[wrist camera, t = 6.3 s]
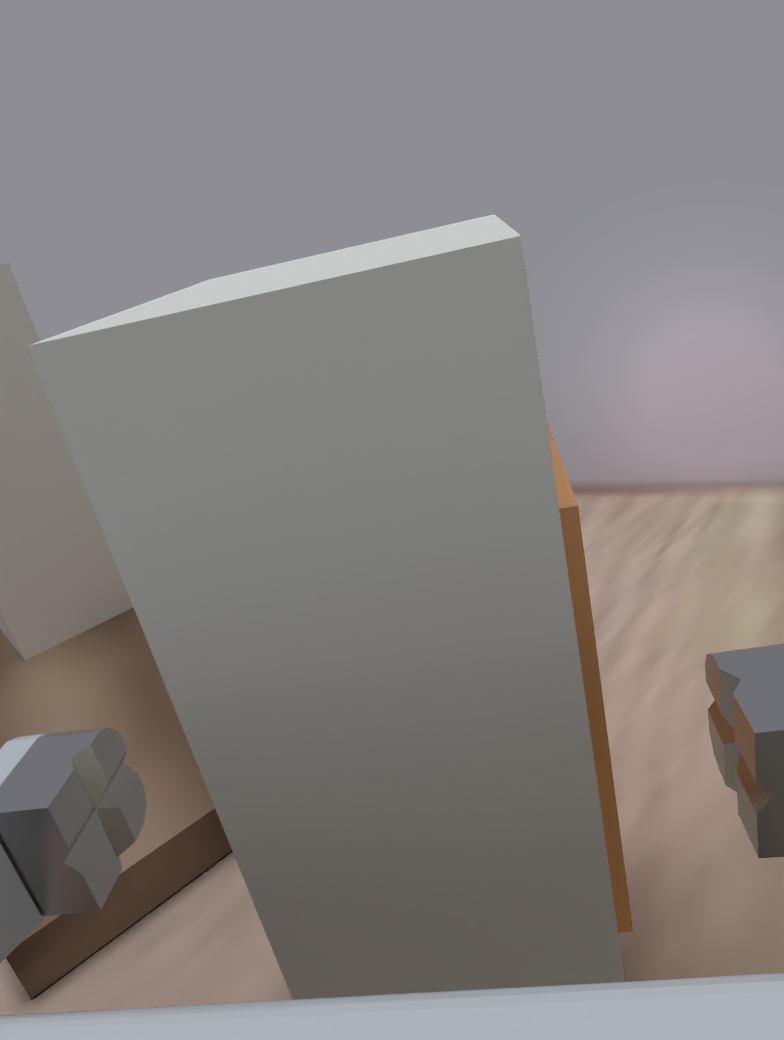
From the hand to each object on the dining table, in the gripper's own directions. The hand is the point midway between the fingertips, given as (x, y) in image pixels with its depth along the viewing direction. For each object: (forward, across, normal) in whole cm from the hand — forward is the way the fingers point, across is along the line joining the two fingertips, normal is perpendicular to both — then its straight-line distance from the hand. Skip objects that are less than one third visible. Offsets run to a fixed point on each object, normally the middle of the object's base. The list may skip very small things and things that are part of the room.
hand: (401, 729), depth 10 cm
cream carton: (+2, 0, +8) cm, 8 cm away
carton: (+19, +18, +6) cm, 27 cm away
